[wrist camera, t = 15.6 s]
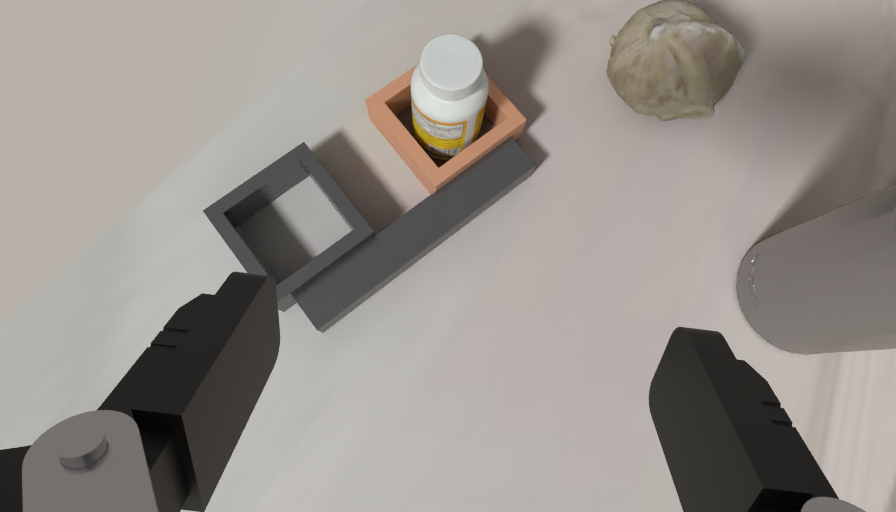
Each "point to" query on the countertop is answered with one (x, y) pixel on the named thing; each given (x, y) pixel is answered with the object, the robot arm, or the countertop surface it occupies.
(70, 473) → the robot arm
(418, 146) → the marked socket
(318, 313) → the rail
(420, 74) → the supplement bottle
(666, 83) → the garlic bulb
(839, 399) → the countertop surface
